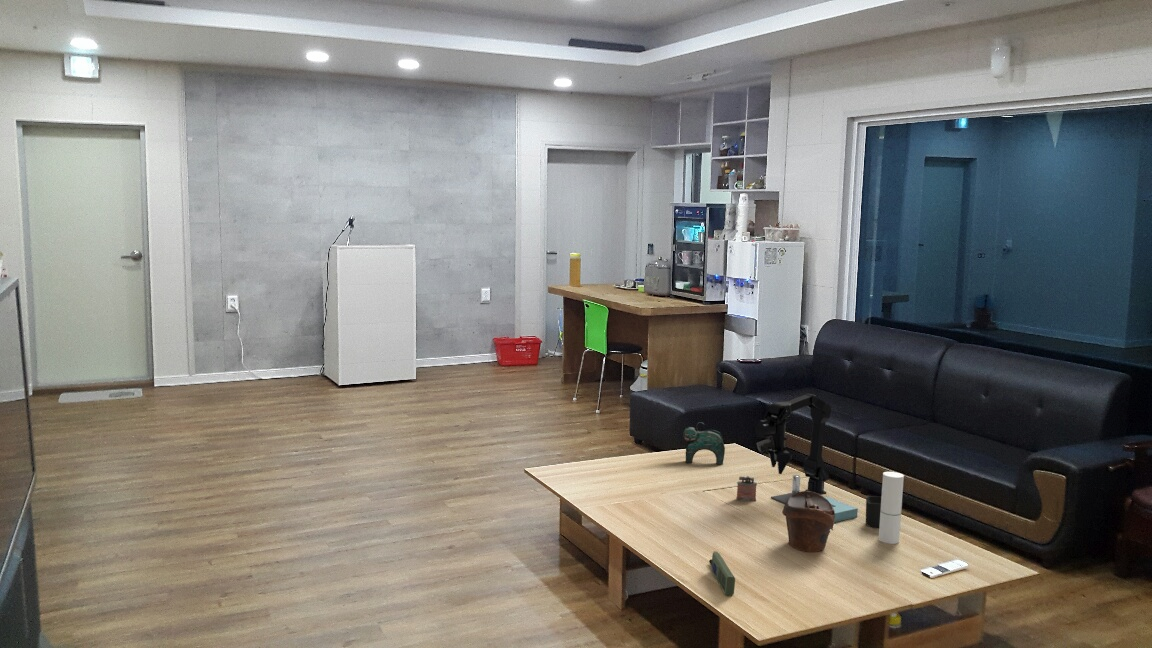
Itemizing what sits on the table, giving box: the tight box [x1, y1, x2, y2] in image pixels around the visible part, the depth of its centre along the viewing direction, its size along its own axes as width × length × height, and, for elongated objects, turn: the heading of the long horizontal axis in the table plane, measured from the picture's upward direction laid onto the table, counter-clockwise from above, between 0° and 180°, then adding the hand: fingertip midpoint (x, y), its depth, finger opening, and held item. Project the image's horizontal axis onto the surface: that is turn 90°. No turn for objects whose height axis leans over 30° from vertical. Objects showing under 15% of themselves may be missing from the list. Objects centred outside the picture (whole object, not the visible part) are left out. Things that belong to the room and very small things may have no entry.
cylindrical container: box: [878, 471, 905, 545], centre depth 320 cm, size 7×7×25 cm
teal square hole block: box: [823, 496, 859, 523], centre depth 348 cm, size 16×16×4 cm
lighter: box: [736, 476, 758, 502], centre depth 363 cm, size 8×3×10 cm, turn 84°
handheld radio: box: [708, 550, 736, 597], centre depth 283 cm, size 7×3×25 cm
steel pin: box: [791, 474, 801, 495], centre depth 363 cm, size 3×3×10 cm
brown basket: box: [781, 490, 835, 553], centre depth 313 cm, size 18×20×18 cm
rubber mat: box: [770, 492, 792, 505], centre depth 364 cm, size 14×14×1 cm
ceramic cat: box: [682, 421, 726, 466], centre depth 415 cm, size 20×6×20 cm, turn 80°
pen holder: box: [865, 495, 881, 530], centre depth 337 cm, size 9×9×10 cm
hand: (776, 470), depth 360 cm, fingers open, 9 cm apart
